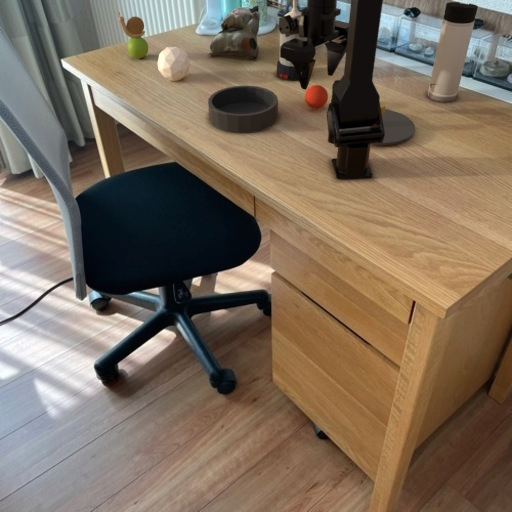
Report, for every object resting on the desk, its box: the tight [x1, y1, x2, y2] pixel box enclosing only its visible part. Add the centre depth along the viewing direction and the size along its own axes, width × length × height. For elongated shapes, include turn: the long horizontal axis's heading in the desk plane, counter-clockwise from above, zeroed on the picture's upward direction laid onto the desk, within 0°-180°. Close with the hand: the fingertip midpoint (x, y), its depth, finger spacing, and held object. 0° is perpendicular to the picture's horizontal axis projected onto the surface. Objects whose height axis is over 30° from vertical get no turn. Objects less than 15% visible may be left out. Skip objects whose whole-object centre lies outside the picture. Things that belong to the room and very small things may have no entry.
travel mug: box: [427, 1, 479, 103], centre depth 113 cm, size 6×7×20 cm
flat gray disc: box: [339, 102, 416, 146], centre depth 107 cm, size 15×15×5 cm
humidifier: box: [276, 0, 307, 82], centre depth 123 cm, size 8×8×25 cm
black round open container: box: [207, 85, 279, 134], centre depth 112 cm, size 15×15×4 cm
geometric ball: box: [156, 46, 191, 82], centre depth 127 cm, size 8×8×8 cm
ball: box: [304, 84, 329, 110], centre depth 115 cm, size 5×5×5 cm
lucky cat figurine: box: [206, 5, 261, 59], centre depth 137 cm, size 15×12×14 cm
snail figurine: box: [116, 11, 149, 59], centre depth 137 cm, size 5×6×12 cm
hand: (317, 82), depth 113 cm, fingers open, 9 cm apart
